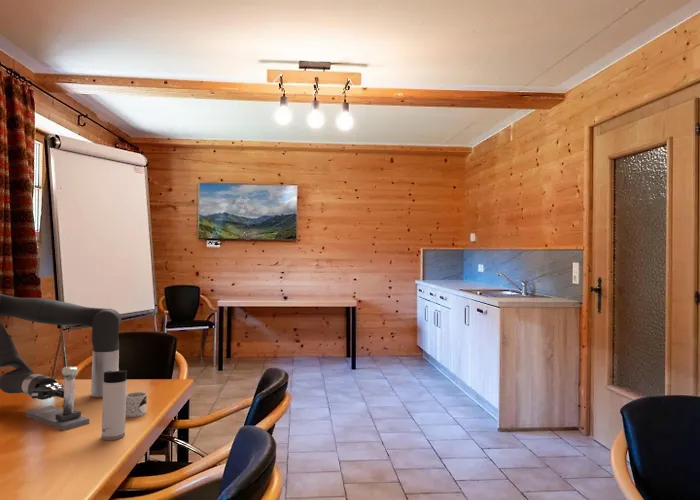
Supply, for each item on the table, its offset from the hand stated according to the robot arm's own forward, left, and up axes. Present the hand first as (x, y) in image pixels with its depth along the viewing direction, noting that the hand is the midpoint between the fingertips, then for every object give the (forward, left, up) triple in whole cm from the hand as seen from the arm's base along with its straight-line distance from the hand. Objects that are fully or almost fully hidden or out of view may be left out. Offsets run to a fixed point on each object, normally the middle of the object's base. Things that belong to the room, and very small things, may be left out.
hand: (66, 394), depth 151 cm
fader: (-1, +1, -7) cm, 7 cm away
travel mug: (-15, +19, -9) cm, 26 cm away
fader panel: (+3, -4, -9) cm, 10 cm away
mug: (-21, -3, -9) cm, 23 cm away
